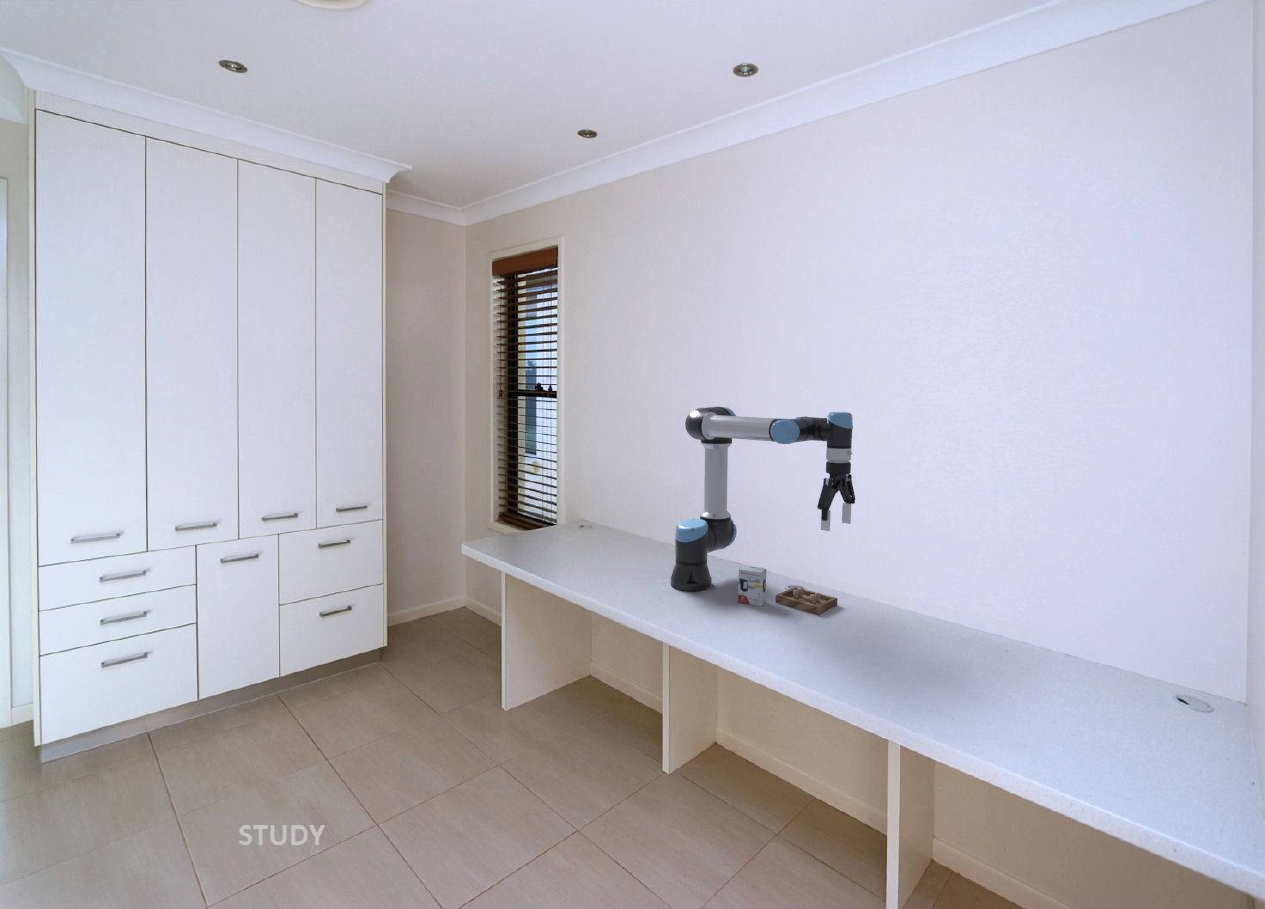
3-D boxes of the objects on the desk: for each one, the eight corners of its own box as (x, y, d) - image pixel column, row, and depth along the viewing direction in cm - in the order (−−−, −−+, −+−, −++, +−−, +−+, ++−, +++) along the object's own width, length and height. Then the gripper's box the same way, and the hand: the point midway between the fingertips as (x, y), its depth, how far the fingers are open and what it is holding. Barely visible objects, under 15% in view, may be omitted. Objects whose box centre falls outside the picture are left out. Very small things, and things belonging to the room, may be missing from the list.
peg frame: (775, 602, 209) (776, 590, 209) (794, 593, 217) (795, 582, 217) (818, 615, 198) (819, 602, 197) (837, 605, 206) (837, 593, 206)
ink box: (737, 602, 210) (737, 568, 208) (741, 597, 214) (742, 564, 212) (761, 606, 206) (762, 572, 204) (765, 601, 210) (766, 568, 208)
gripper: (829, 466, 184) (827, 535, 187) (868, 458, 201) (865, 522, 204) (807, 463, 190) (805, 531, 192) (846, 456, 207) (843, 518, 209)
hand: (836, 526), depth 198 cm, fingers open, 13 cm apart
